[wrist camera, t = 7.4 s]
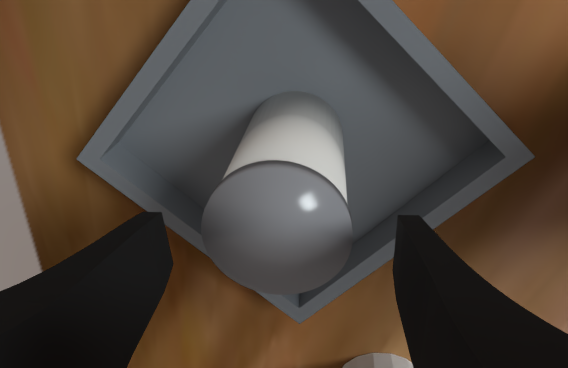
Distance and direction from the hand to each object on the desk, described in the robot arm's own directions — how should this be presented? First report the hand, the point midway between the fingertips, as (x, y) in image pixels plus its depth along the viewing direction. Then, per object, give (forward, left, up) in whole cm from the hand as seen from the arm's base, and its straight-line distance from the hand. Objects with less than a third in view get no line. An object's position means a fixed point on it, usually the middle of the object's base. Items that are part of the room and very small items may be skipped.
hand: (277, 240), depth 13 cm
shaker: (0, 0, -8) cm, 8 cm away
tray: (0, 0, -9) cm, 9 cm away
